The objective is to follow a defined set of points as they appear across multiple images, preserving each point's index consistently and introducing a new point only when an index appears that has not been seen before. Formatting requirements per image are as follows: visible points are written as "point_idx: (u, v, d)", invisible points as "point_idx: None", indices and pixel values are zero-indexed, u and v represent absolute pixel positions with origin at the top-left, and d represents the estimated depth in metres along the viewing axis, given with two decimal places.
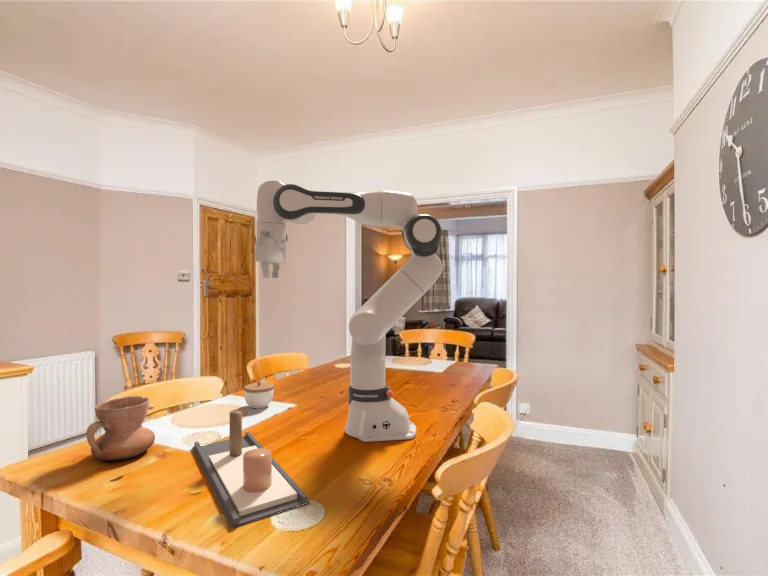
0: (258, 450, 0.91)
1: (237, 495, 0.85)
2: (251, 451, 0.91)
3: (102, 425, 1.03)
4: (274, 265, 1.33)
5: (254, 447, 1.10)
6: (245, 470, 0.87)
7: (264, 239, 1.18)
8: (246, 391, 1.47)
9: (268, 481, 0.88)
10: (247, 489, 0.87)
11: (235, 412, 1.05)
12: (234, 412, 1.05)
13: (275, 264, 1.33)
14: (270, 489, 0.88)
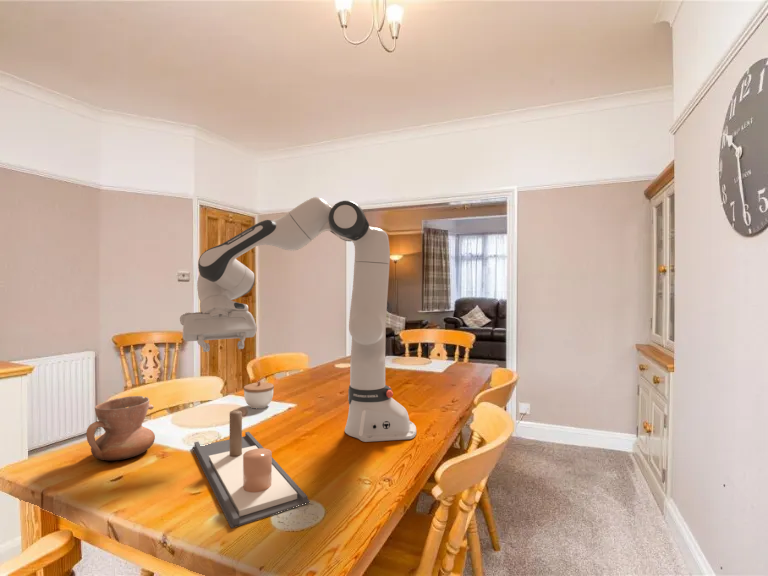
0: (258, 450, 0.91)
1: (237, 495, 0.85)
2: (251, 451, 0.91)
3: (102, 425, 1.03)
4: (240, 337, 1.21)
5: (254, 447, 1.10)
6: (245, 470, 0.87)
7: None
8: (246, 391, 1.47)
9: (268, 481, 0.88)
10: (247, 489, 0.87)
11: (235, 412, 1.05)
12: (234, 412, 1.05)
13: (240, 335, 1.21)
14: (270, 489, 0.88)
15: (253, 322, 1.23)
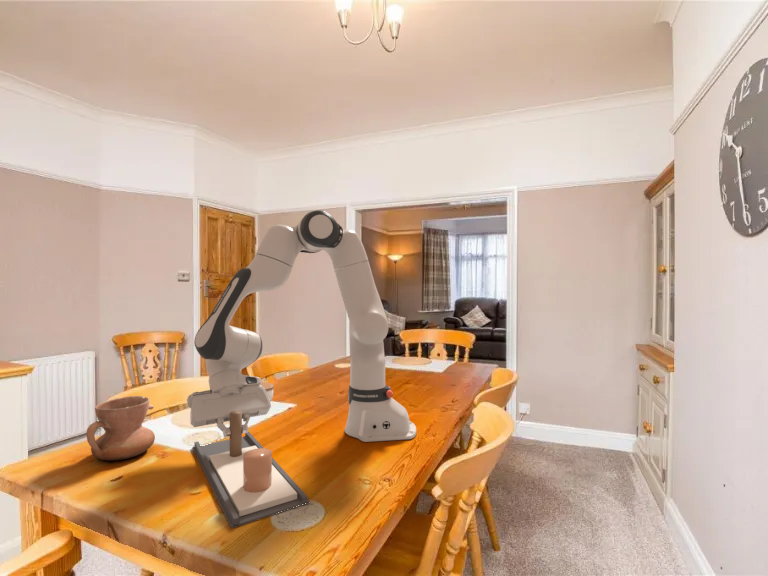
0: (258, 450, 0.91)
1: (237, 495, 0.85)
2: (251, 451, 0.91)
3: (102, 425, 1.03)
4: (243, 418, 1.09)
5: (254, 447, 1.10)
6: (245, 470, 0.87)
7: (192, 400, 1.06)
8: None
9: (268, 481, 0.88)
10: (247, 489, 0.87)
11: (235, 412, 1.05)
12: (234, 412, 1.05)
13: (243, 416, 1.09)
14: (270, 489, 0.88)
15: (267, 398, 1.13)
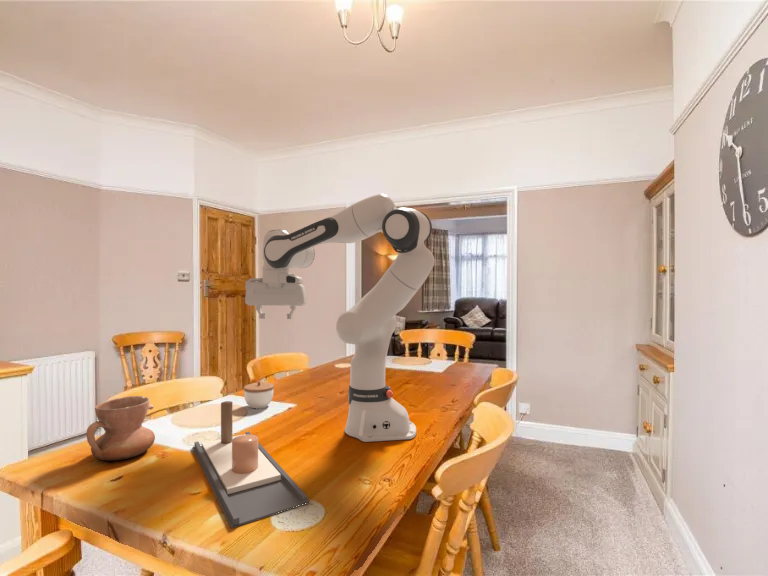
0: (246, 436, 0.99)
1: (226, 476, 0.94)
2: (239, 437, 0.99)
3: (102, 425, 1.03)
4: None
5: None
6: (233, 453, 0.95)
7: None
8: (246, 391, 1.47)
9: (255, 464, 0.97)
10: (235, 471, 0.95)
11: (226, 402, 1.13)
12: (225, 402, 1.13)
13: None
14: (256, 471, 0.96)
15: (301, 297, 1.35)
